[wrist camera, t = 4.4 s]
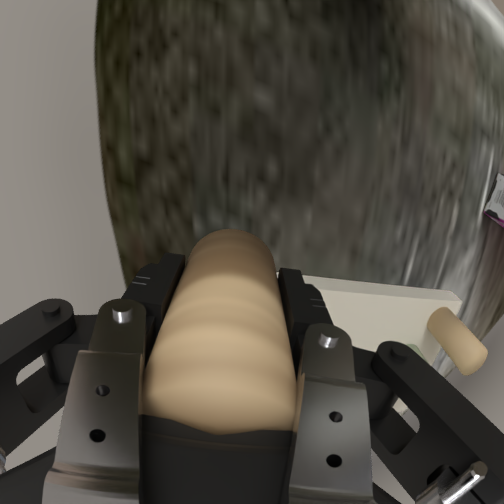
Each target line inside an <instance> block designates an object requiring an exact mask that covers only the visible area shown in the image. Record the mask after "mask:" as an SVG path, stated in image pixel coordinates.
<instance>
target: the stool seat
mask: <svg viewBox="0 0 504 504" xmlns="http://www.w3.org/2000/svg"><path fill="white" fill-rule="evenodd" d="M276 274H277V279H278V274H279V272H276ZM302 277H303V279H304V282H305V283H306V284H312V285H314V286H315V287H316V288H317V289H318V290H319V291H320V292H321V295H322V297H323V301H324V302H325V304H326V308H327V309H328V312H329V314H330V317H331V319H332V322H333V324H334V326H337V327H339V328H341V329H343V330H344V331H345V332H346V333H347V334H348V335H349V336H350V338H351V340H352V346H355V347H358V348H361V349H365V350H369V351H373V352H376V350H377V348H378V346H379V345H380V344H381V343H382V342H384V341H397V342H400V343H403V344H405V345H407V344H414V345H416V346H417V347H418V348H419V350H420V351H421V353H422V354H423V356H424V357H425V359H426V360H427V362H428V363H429V365H430V366H432V364H433V362H434V360H435V359H436V357H437V355H438V353H439V351H440V349H441V347H442V348H443V349H444V350H445V352H446V353H447V354H448V356H449V357H450V358H451V360H452V361H453V362H454V364H455V365H456V366H457V368H458V369H459V370H460V372H461V373H462V374H463V375H465V376H467V375H470V374H473V373H474V372H476V371H477V370H478V369H479V368H480V367H481V366H482V365H483V363H484V362H485V360H486V358H487V355H488V351H487V349H486V348H485V347H484V346H483V345H482V343H481V342H480V341H479V340H478V339H477V338H476V337H475V336H474V334H473V333H472V332H471V331H470V330H469V329H468V328H467V327H466V326H465V325H464V324H463V323H462V322H461V321H460V319H459V318H458V317H457V313H458V311H459V309H460V307H461V304H462V302H463V301H461V300H460V299H459V298H458V297H457V296H456V295H455V294H454V293H453V292H452V291H448V290H438V289H427V288H417V287H407V286H397V285H388V284H378V283H369V282H360V281H351V280H342V279H333V278H324V277H315V276H306V275H302ZM393 408H394V409H395V410H396V411H397V412H402V411H405V409H406V408H407V406H406V405H405V403H404V402H403V401H402V400H401V399H400V398H398V400H397V401H396V403H395V404H394V406H393Z"/></svg>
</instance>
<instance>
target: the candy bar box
mask: <svg viewBox="0 0 504 504" xmlns="http://www.w3.org/2000/svg"><path fill="white" fill-rule="evenodd" d="M483 212H484V213H485V214H486V215H487V216H489V217H490V218H492V219H493V220H494V221H496V222H497V223H498V224H500V225H501V226H502V227H504V175H503V174H500V173H498V174H497V176H496V179H495V182H494V185H493V188H492V190H491V193H490V195H489V198H488V200H487V202H486V205H485V208H484V211H483Z"/></svg>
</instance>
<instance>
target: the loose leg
mask: <svg viewBox="0 0 504 504" xmlns="http://www.w3.org/2000/svg"><path fill="white" fill-rule="evenodd" d="M296 383H297V382H296V376H295V370H294V365H293V359H292V354H291V348H290V343H289V337H288V332H287V326H286V321H285V316H284V310H283V305H282V300H281V294H280V289H279V284H278V279H277V274H276V268H275V263H274V259H273V256H272V254H271V252H270V250H269V249H268V247H267V246H266V245H265V244H264V242H262V241H261V240H260V239H259V238H258V237H256V236H254V235H253V234H250V233H248V232H245V231H242V230H237V229H224V230H218V231H215V232H212V233H210V234H208V235H207V236H205V237H203V238H202V239H201V240H200V241H199V242H198V243H197V244H196V245H195V247H194V248H193V250H192V252H191V254H190V256H189V258H188V261H187V263H186V266H185V268H184V270H183V273H182V275H181V278H180V280H179V283H178V285H177V287H176V290H175V292H174V295H173V297H172V300H171V302H170V305H169V307H168V310H167V313H166V315H165V318H164V320H163V323H162V325H161V328H160V331H159V333H158V336H157V339H156V341H155V344H154V347H153V349H152V352H151V355H150V357H149V360H148V363H147V366H146V368H145V375H144V384H143V397H142V399H143V402H142V414H145V415H150V416H155V417H160V418H166V419H171V420H174V421H177V422H179V423H182V424H185V425H187V426H190V427H193V428H196V429H199V430H201V431H204V432H207V433H210V434H214V435H225V434H234V433H242V432H249V431H256V430H286V431H293V426H294V419H293V418H294V415H295V408H296V389H297V388H296Z"/></svg>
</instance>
